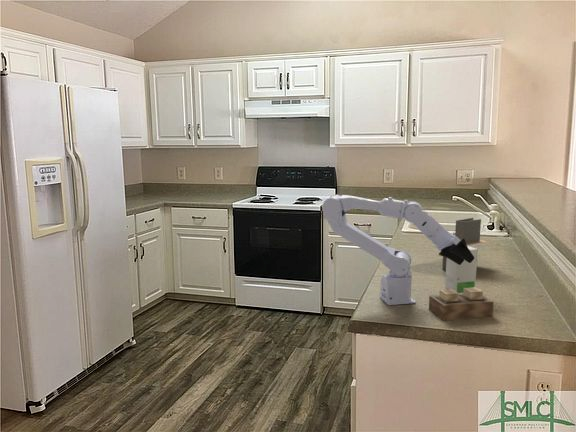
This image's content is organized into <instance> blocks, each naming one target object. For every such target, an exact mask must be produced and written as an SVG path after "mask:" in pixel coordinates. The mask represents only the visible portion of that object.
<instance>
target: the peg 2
mask: <svg viewBox="0 0 576 432" xmlns="http://www.w3.org/2000/svg"><path fill="white" fill-rule="evenodd" d="M463 296H464V297H466V298H468V299H469V300H477V299H483V296H484V292H483V290H482V289H480V288H478V287H476V286H475V287H472V288H464V290H463Z"/></svg>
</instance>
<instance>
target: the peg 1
mask: <svg viewBox="0 0 576 432" xmlns="http://www.w3.org/2000/svg"><path fill="white" fill-rule="evenodd" d="M438 295H439V298H440V299H442V300H443V301H445V302H453V301H458V297H459V293H457V292H456V291H454V290H452V289H446V290H445V289H439V294H438Z"/></svg>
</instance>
